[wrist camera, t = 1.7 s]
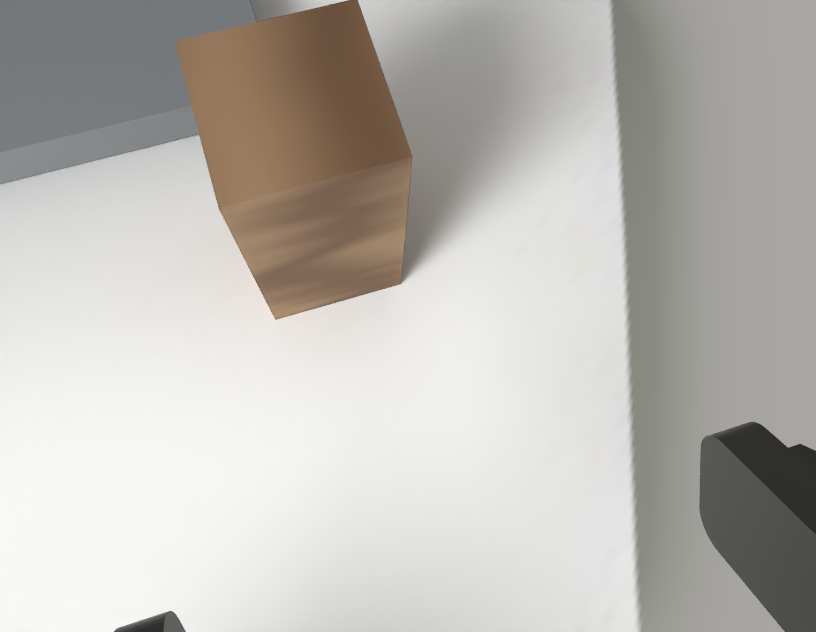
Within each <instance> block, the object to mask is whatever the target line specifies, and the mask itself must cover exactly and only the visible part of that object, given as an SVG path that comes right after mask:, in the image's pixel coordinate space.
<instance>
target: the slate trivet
mask: <svg viewBox="0 0 816 632" xmlns="http://www.w3.org/2000/svg"><path fill="white" fill-rule="evenodd" d="M255 22H256V18H255V15H254V12H253V8H252V5H251V2H250V0H0V184H2V183H6V182H10V181H14V180H18V179H22V178H26V177H30V176H34V175H38V174H42V173H46V172H50V171H54V170H58V169H62V168H66V167H70V166H74V165H78V164H82V163H86V162H90V161H94V160H98V159H102V158H106V157H110V156H114V155H118V154H122V153H126V152H130V151H134V150H138V149H142V148H146V147H150V146H154V145H158V144H162V143H166V142H170V141H174V140H178V139H182V138H186V137H190V136H194V135H198V134H199V131H198V128H197V124H196V120H195V116H194V112H193V109H192V105H191V101H190V97H189V93H188V90H187V86H186V82H185V78H184V74H183V71H182V67H181V63H180V59H179V55H178V52H177V48H176V44H175V41H178V40H182V39H186V38H191V37H195V36H199V35H203V34H208V33H212V32H216V31H220V30H225V29H229V28H233V27H237V26H242V25H246V24H250V23H255Z"/></svg>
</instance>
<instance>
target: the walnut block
mask: <svg viewBox="0 0 816 632" xmlns="http://www.w3.org/2000/svg"><path fill="white" fill-rule="evenodd" d="M175 44H176V48H177V52H178V55H179V59H180V63H181V67H182V71H183V74H184V78H185V82H186V86H187V90H188V93H189V97H190V101H191V105H192V109H193V112H194V116H195V120H196V124H197V128H198V131H199V135H200V139H201V143H202V147H203V150H204V154H205V158H206V162H207V165H208V169H209V173H210V177H211V181H212V184H213V188H214V192H215V196H216V200H217V203H218V207H219V210H220V212H221V214H222V216H223V217H224V219H225V221H226V223H227V225H228V227H229V229H230V231H231V233H232V235H233V237H234V239H235V241H236V243H237V245H238V247H239V249H240V251H241V253H242V255H243V257H244V259H245V261H246V263H247V265H248V267H249V269H250V271H251V273H252V275H253V277H254V279H255V281H256V283H257V284H258V286H259V288H260V290H261V292H262V294H263V296H264V298H265V300H266V302H267V304H268V306H269V308H270V310H271V312H272V314H273V316H274V318H275V320H276V319H280V318H283V317H287V316H290V315H294V314H297V313H301V312H304V311H308V310H311V309H315V308H318V307H322V306H325V305H329V304H332V303H336V302H339V301H343V300H346V299H350V298H353V297H357V296H360V295H364V294H367V293H371V292H374V291H378V290H381V289H385V288H388V287H392V286H395V285H399V284H401V279H402V268H403V256H404V245H405V234H406V223H407V212H408V200H409V189H410V178H411V167H412V155H411V152H410V149H409V146H408V143H407V140H406V137H405V134H404V132H403V129H402V126H401V123H400V120H399V117H398V114H397V112H396V109H395V106H394V103H393V100H392V97H391V94H390V92H389V89H388V86H387V83H386V80H385V77H384V74H383V71H382V69H381V66H380V63H379V60H378V57H377V54H376V51H375V49H374V46H373V43H372V40H371V37H370V34H369V31H368V29H367V26H366V23H365V20H364V17H363V14H362V11H361V8H360V6H359V3H358V0H349V1H344V2H340V3H336V4H331V5H327V6H323V7H319V8H314V9H310V10H306V11H302V12H297V13H293V14H289V15H284V16H280V17H276V18H272V19H267V20H263V21H259V22H255V23H250V24H246V25H242V26H237V27H233V28H229V29H225V30H220V31H216V32H212V33H208V34H203V35H199V36H195V37H191V38H186V39H182V40H178V41H175Z"/></svg>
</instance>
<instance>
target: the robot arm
mask: <svg viewBox="0 0 816 632" xmlns="http://www.w3.org/2000/svg"><path fill="white" fill-rule="evenodd" d="M700 515H701V519H702V522H703V525H704V528H705V530H706V532H707V535H708V537H709V538H710V540H711V542H712V543H713V545H714V547H715V548H716V549H717V550H718V552H719V553H720V554H721V555H722V557H723V558H724V559H725V560H726V561H727V563H728V564H729V565H730V566H731V567H732V568H733V570H734V571H735V572H736V573H737V574H738V576H739V577H740V578H741V579H742V581H743V582H744V583H745V584H746V585H747V586H748V588H749V589H750V590H751V591H752V593H753V594H754V595H755V596H756V597H757V599H758V600H759V601H760V602H761V603H762V605H763V606H764V607H765V608H766V609H767V611H768V612H769V613H770V614H771V615H772V617H773V618H774V619H775V620H776V621H777V623H778V624H779V625H780V626H781V628H782V629H783V630H784V631H785V632H816V451H815V450H812V449H810V448H808V447H806V446H803V445H801V444H799V445H796V446H793V447H790V448H788V447H786V446H785V445H784V444H783V443H782V442H781V441H779V440H778V439H777V438H776V437H775V436H774V435H773V434H771V433H770V432H769V431H768V430H767V429H766V428H764V427H763V426H762V425H760V424H758V423H756V422H749V423H746V424H743V425H739V426H736V427H733V428H730V429H728V430H725V431H721V432H718V433H715V434H712V435H709V436H706V437H705V438H704V439H703V440H702V443H701V462H700ZM114 632H186V631H185V630H184V628H183V626H182V624H181V622H180V620H179V619H178V617H177V615H176V614H175V613H174V612H172V611H169V612H166V613H162V614H159V615H156V616H153V617H150V618H147V619H144V620H141V621H138V622H135V623H132V624H129V625H126V626H123V627H120V628H117V629H116V630H115V631H114Z"/></svg>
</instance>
